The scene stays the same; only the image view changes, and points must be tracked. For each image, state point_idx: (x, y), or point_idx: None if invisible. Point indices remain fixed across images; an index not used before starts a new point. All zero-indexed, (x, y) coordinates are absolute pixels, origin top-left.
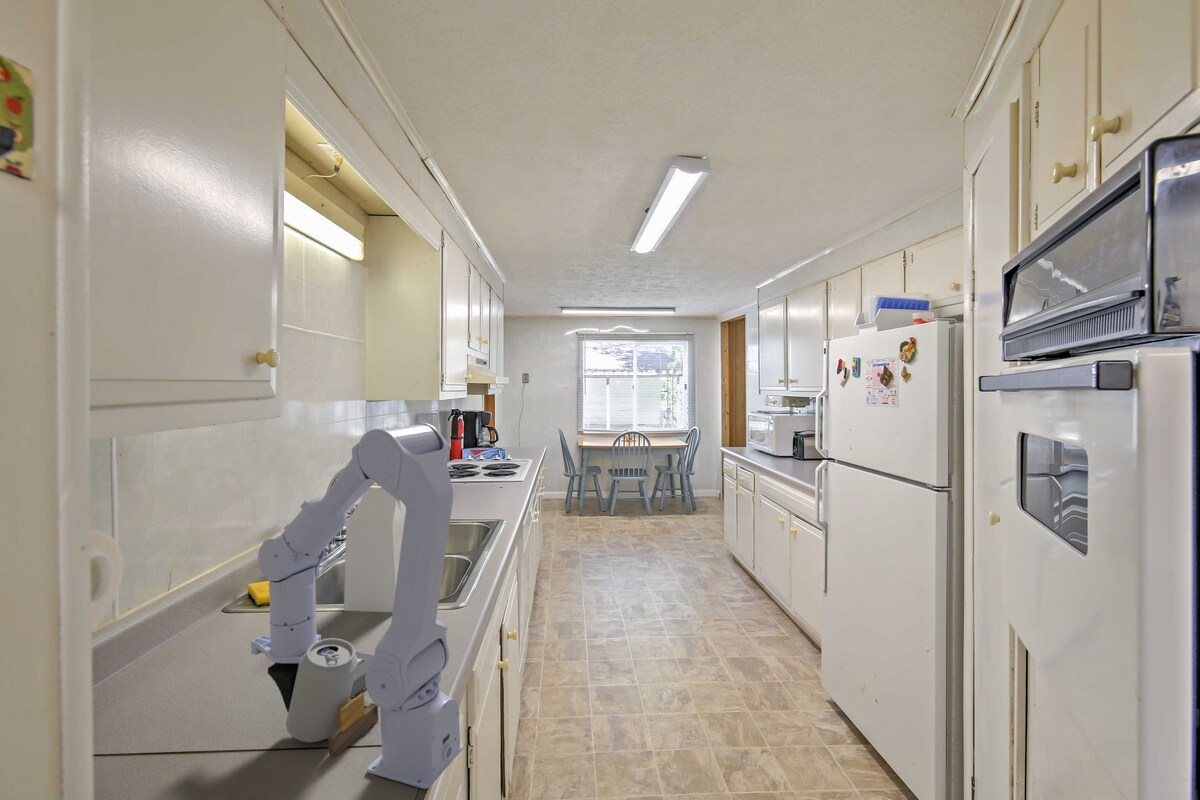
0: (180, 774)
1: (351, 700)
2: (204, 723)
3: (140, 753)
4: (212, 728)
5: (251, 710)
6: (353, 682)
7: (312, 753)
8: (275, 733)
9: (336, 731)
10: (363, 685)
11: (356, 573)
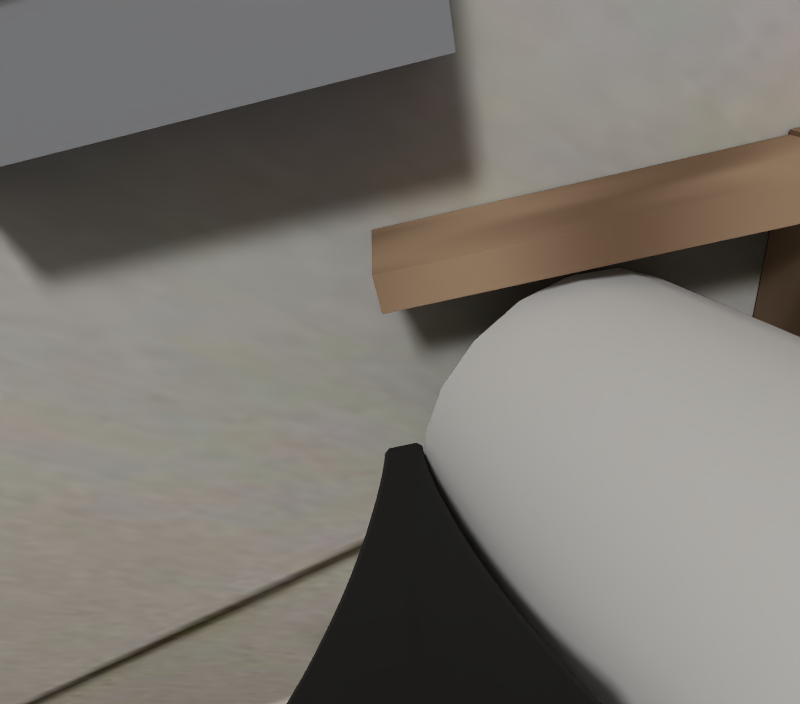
0: (315, 649)
1: (686, 228)
2: (22, 564)
3: (89, 676)
4: (93, 560)
5: (46, 447)
6: (444, 3)
7: None
8: (360, 460)
9: None
10: None
11: None
